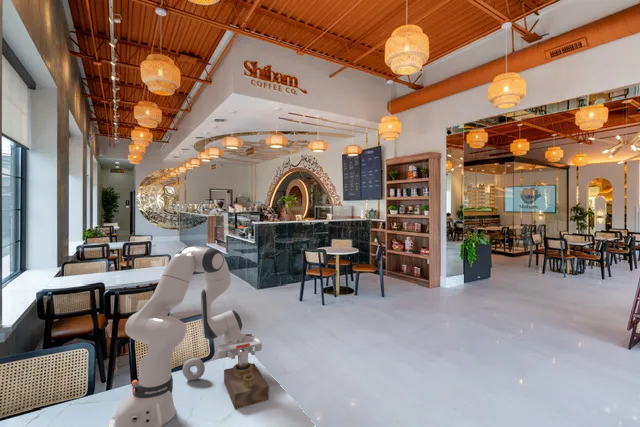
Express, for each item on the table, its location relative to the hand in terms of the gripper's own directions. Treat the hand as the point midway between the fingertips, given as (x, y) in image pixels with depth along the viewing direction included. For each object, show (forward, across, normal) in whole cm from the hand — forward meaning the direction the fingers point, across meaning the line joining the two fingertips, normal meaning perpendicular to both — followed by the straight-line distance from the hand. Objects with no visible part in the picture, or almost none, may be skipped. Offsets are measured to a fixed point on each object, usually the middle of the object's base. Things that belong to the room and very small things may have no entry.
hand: (243, 355), depth 145 cm
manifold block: (+3, 0, +14) cm, 15 cm away
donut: (-17, -19, +15) cm, 29 cm away
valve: (-1, 0, +8) cm, 8 cm away
